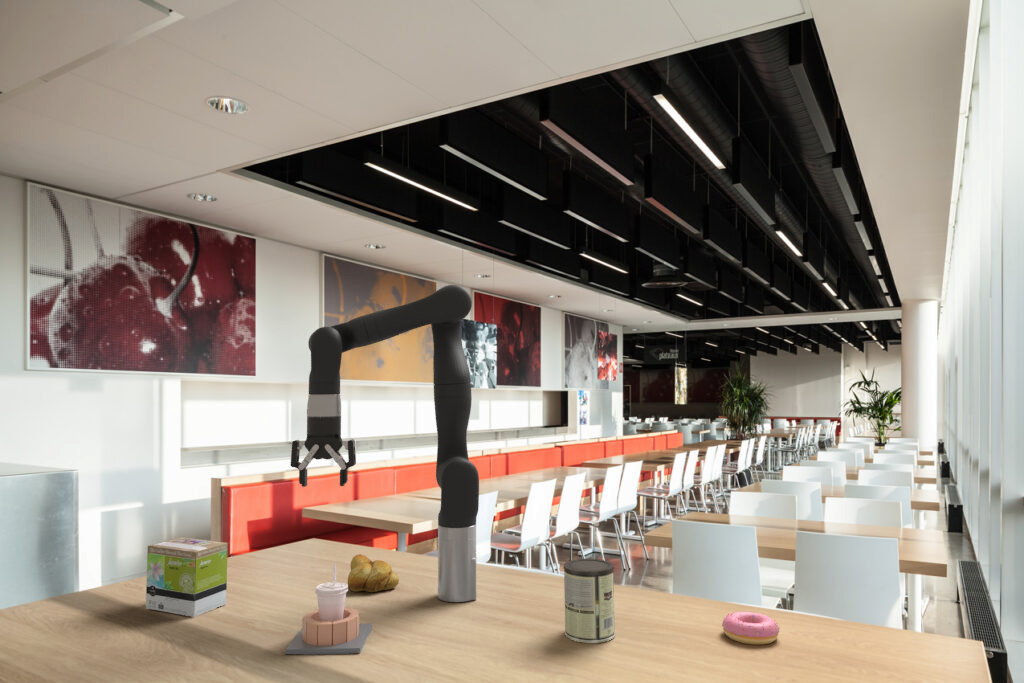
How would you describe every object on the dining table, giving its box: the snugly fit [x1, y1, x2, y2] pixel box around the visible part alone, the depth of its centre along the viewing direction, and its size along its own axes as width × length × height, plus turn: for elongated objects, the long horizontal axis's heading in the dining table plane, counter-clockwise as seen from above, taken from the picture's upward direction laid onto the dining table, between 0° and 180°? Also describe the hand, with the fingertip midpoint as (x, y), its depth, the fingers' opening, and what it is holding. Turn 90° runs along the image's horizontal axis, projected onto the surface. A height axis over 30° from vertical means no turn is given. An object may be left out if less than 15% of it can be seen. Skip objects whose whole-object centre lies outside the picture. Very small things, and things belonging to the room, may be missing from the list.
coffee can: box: [562, 558, 616, 644], centre depth 143 cm, size 10×10×14 cm
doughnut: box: [721, 611, 780, 646], centre depth 142 cm, size 11×11×4 cm
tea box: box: [145, 536, 229, 618], centre depth 162 cm, size 15×10×15 cm
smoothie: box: [314, 563, 349, 622], centre depth 141 cm, size 6×6×14 cm
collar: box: [285, 606, 373, 656], centre depth 140 cm, size 14×14×5 cm
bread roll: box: [347, 553, 400, 593], centre depth 176 cm, size 13×10×8 cm
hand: (323, 486), depth 160 cm, fingers open, 8 cm apart
